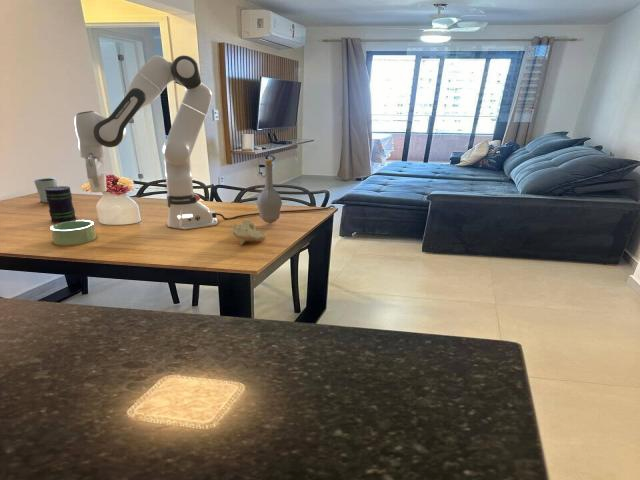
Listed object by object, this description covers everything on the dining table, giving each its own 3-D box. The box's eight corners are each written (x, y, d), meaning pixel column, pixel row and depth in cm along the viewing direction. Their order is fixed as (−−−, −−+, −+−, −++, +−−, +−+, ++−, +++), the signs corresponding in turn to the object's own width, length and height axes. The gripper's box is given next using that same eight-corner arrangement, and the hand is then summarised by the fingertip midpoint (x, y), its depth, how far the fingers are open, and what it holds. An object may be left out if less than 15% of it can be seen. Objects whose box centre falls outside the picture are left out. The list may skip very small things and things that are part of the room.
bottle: (275, 228, 174) (274, 162, 164) (253, 225, 177) (251, 160, 168) (285, 222, 184) (285, 159, 174) (264, 219, 187) (262, 157, 178)
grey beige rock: (256, 239, 164) (227, 220, 158) (267, 229, 161) (238, 209, 155) (253, 262, 152) (222, 242, 145) (265, 251, 149) (233, 230, 142)
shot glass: (100, 193, 159) (97, 176, 156) (86, 192, 160) (83, 175, 158) (112, 189, 165) (109, 173, 163) (98, 189, 166) (95, 173, 164)
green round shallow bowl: (98, 232, 162) (95, 219, 160) (93, 243, 150) (90, 228, 148) (57, 236, 157) (55, 222, 155) (49, 247, 144) (46, 232, 142)
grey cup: (59, 201, 213) (55, 180, 209) (37, 203, 208) (32, 181, 204) (60, 198, 221) (56, 177, 217) (39, 199, 216) (34, 178, 212)
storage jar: (56, 223, 173) (49, 191, 168) (47, 219, 179) (40, 188, 174) (79, 219, 181) (73, 188, 176) (71, 215, 186) (65, 185, 182)
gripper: (97, 154, 149) (103, 189, 154) (103, 149, 167) (109, 181, 172) (79, 155, 147) (86, 190, 152) (87, 150, 165) (93, 182, 170)
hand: (98, 185), depth 162 cm, fingers closed on shot glass, 5 cm apart
